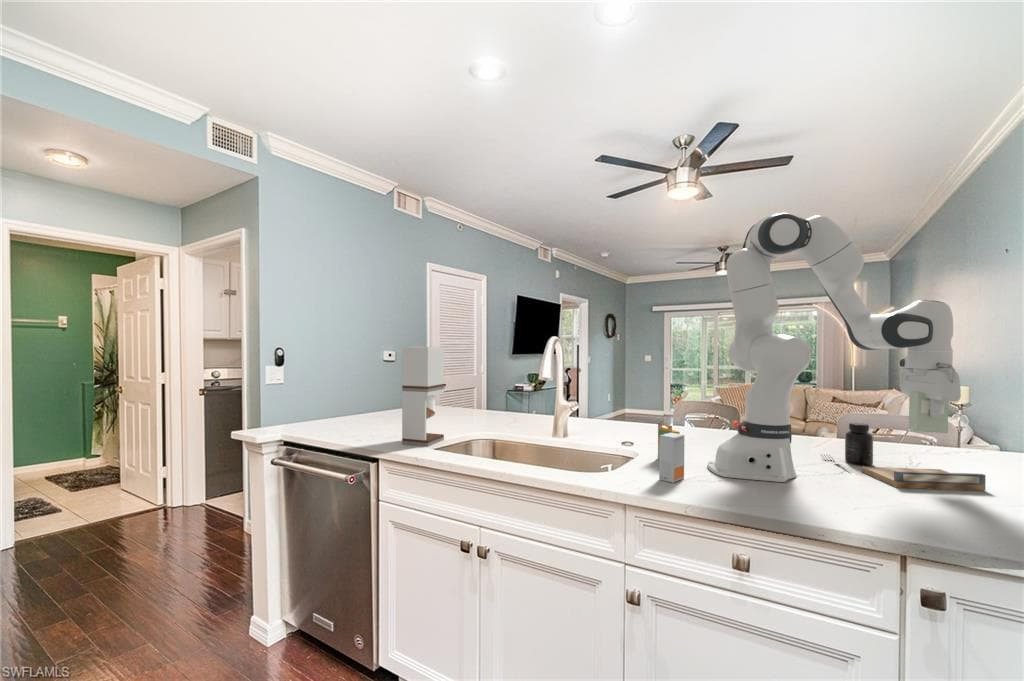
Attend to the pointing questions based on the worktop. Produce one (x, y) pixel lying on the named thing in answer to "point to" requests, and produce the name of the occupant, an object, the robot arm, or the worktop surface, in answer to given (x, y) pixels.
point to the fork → (837, 464)
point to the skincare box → (671, 457)
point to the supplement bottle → (859, 445)
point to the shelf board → (927, 478)
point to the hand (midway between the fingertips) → (927, 415)
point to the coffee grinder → (420, 392)
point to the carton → (926, 415)
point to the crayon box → (664, 432)
